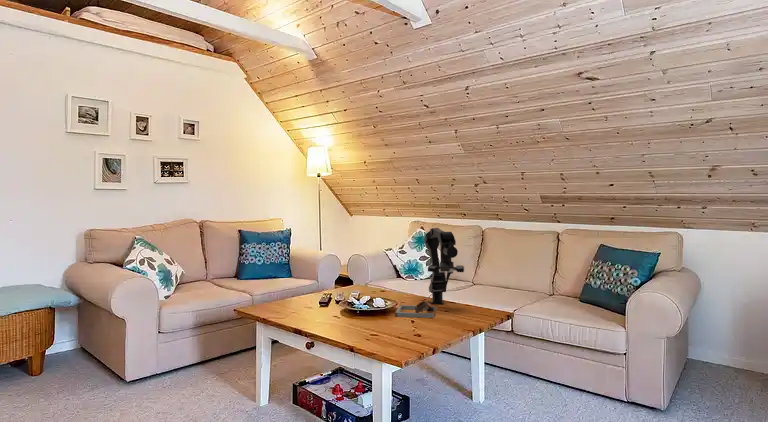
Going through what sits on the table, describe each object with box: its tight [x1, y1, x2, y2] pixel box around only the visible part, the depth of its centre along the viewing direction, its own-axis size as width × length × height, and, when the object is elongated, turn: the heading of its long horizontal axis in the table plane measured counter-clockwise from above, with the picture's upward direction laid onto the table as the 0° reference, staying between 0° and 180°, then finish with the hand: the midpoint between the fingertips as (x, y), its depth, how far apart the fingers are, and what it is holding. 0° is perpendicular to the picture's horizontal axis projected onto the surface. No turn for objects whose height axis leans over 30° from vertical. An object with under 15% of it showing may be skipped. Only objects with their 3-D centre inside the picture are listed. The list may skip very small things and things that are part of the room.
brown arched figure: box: [414, 300, 436, 317], centre depth 254 cm, size 12×10×8 cm
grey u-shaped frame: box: [394, 304, 437, 319], centre depth 257 cm, size 16×19×2 cm
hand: (446, 284), depth 264 cm, fingers closed
